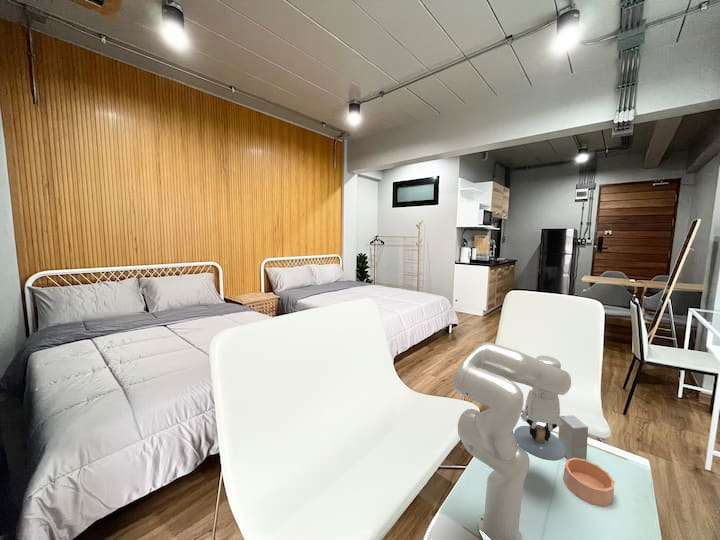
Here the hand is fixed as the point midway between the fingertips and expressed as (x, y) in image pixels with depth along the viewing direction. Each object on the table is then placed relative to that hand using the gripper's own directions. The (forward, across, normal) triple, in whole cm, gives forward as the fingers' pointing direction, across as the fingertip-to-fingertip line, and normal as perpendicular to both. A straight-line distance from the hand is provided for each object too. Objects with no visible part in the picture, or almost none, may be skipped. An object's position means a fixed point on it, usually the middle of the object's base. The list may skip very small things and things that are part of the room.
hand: (539, 437), depth 106 cm
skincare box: (+19, -19, -18) cm, 33 cm away
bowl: (+19, -18, -2) cm, 26 cm away
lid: (+3, 0, 0) cm, 3 cm away
